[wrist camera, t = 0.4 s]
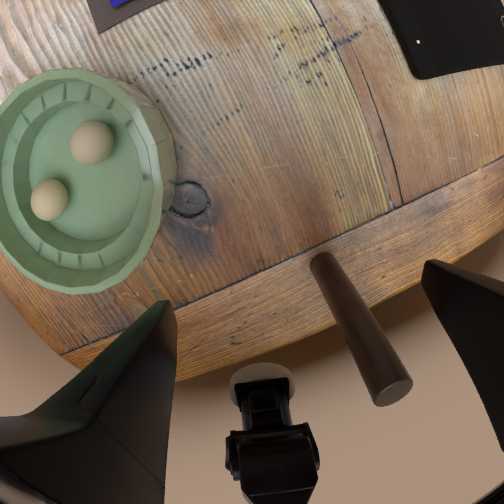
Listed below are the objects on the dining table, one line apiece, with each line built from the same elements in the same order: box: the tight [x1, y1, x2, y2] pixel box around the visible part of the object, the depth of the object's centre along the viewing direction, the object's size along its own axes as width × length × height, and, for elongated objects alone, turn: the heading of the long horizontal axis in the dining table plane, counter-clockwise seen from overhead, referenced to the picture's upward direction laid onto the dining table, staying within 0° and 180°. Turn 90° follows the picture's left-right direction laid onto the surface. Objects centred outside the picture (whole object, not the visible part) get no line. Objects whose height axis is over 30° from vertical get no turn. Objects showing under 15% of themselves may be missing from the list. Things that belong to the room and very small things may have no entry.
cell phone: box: [379, 0, 504, 80], centre depth 13 cm, size 9×18×1 cm, turn 115°
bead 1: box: [31, 179, 68, 221], centre depth 16 cm, size 3×3×3 cm
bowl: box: [0, 68, 177, 295], centre depth 16 cm, size 14×14×5 cm
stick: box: [310, 253, 413, 407], centre depth 17 cm, size 2×2×13 cm
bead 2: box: [70, 120, 114, 166], centre depth 15 cm, size 3×3×3 cm
